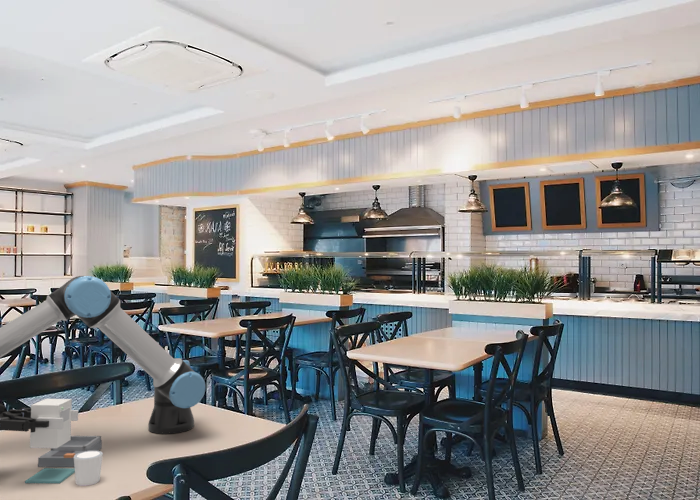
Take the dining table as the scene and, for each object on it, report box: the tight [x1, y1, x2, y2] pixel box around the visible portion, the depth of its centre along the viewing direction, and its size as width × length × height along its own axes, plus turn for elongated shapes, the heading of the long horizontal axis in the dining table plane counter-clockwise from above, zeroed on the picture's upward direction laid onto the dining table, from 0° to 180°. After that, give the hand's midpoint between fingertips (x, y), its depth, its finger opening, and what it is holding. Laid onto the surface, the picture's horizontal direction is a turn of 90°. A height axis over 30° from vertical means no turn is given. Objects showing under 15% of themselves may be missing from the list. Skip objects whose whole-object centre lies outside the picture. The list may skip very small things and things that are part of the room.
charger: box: [29, 398, 73, 449], centre depth 147 cm, size 8×7×11 cm
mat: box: [24, 467, 75, 484], centre depth 146 cm, size 9×9×1 cm
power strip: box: [37, 435, 103, 468], centre depth 166 cm, size 10×24×4 cm, turn 0°
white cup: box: [73, 450, 104, 487], centre depth 143 cm, size 7×7×7 cm
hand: (70, 419), depth 147 cm, fingers closed on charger, 7 cm apart
